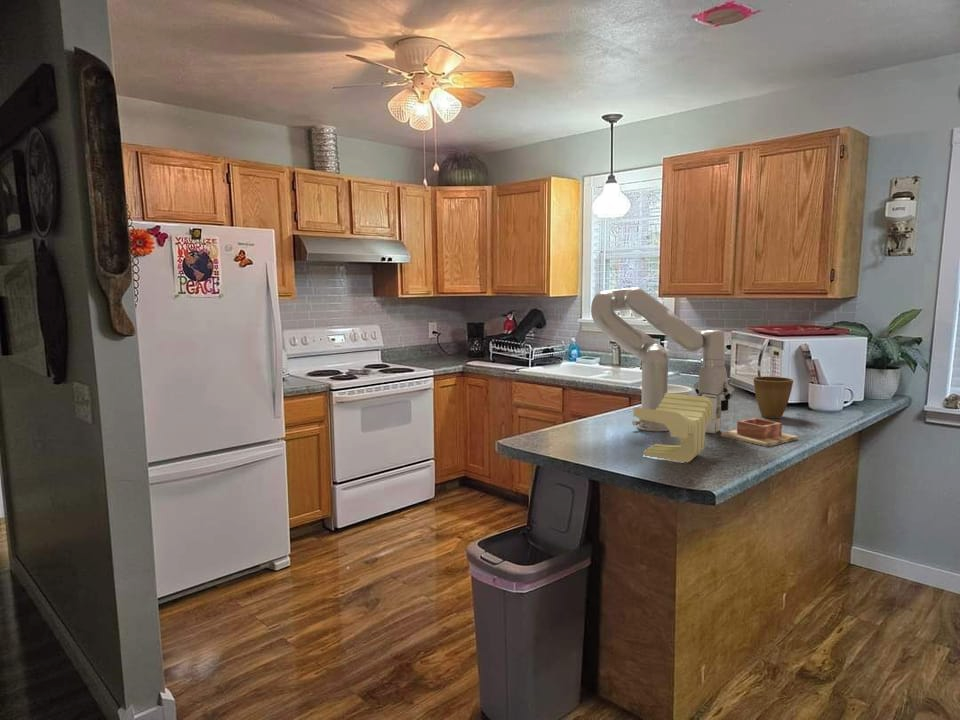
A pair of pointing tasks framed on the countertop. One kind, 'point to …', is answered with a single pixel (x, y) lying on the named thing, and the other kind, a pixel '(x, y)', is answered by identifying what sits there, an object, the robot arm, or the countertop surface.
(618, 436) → the countertop surface
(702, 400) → the slatted curved stool
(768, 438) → the terracotta box on board
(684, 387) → the soup bowl
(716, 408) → the syrup box
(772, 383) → the plant pot
